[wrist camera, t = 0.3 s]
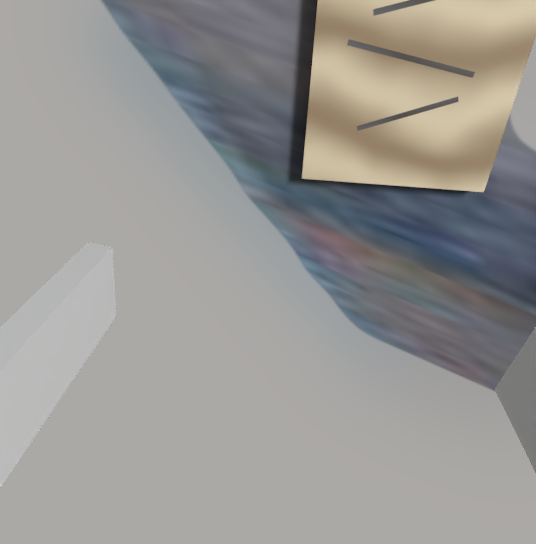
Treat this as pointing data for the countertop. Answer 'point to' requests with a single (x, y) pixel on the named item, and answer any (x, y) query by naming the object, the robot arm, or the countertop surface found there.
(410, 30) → the board
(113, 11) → the countertop surface
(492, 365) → the countertop surface
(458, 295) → the countertop surface
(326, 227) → the countertop surface
